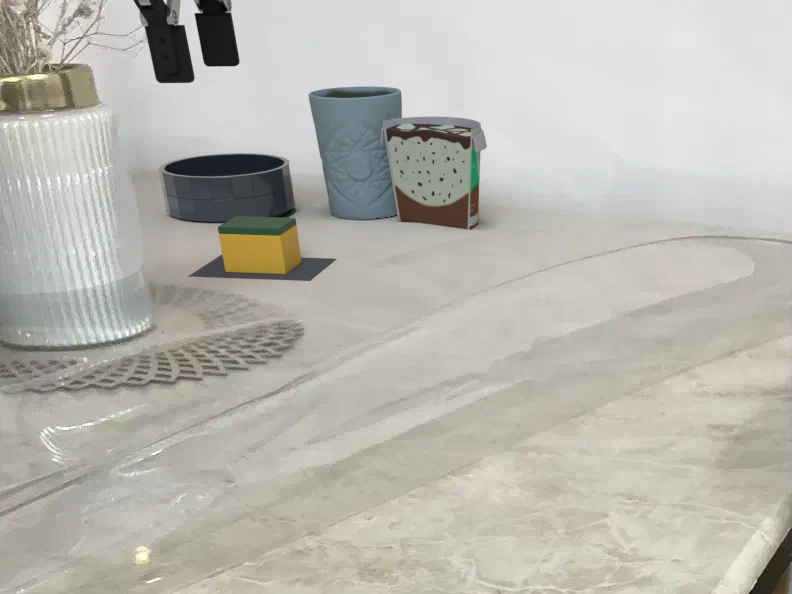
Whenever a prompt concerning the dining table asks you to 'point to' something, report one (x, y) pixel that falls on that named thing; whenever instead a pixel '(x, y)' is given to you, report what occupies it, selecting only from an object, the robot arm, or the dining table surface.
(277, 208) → the bowl
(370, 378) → the dining table surface
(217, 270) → the mat
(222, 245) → the sponge
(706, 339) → the dining table surface
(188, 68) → the robot arm
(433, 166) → the food container
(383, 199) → the blue embossed cup
